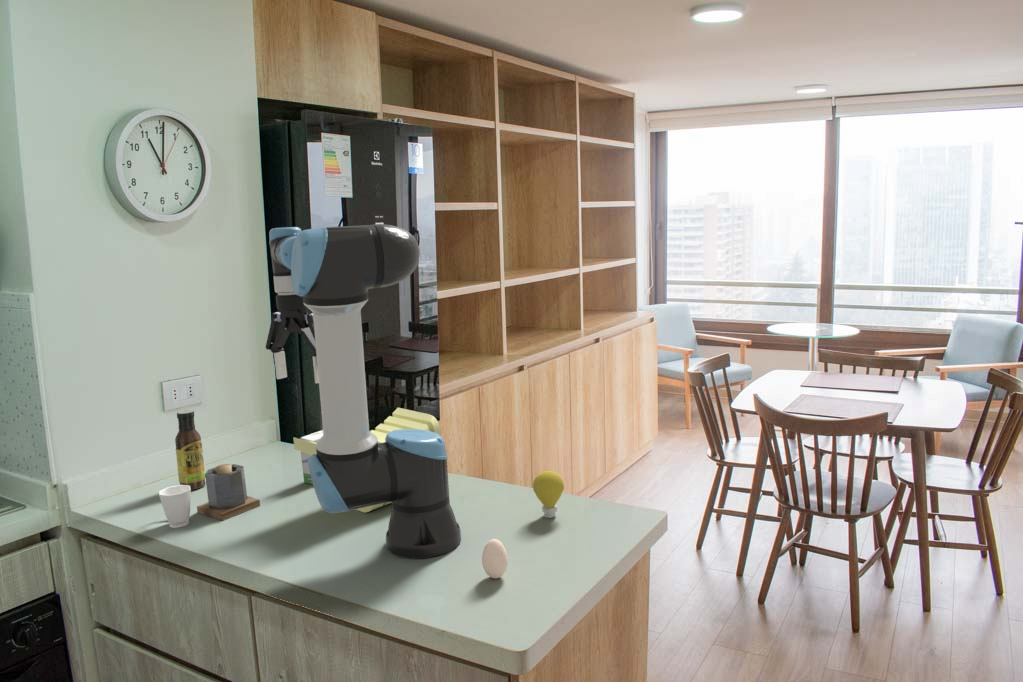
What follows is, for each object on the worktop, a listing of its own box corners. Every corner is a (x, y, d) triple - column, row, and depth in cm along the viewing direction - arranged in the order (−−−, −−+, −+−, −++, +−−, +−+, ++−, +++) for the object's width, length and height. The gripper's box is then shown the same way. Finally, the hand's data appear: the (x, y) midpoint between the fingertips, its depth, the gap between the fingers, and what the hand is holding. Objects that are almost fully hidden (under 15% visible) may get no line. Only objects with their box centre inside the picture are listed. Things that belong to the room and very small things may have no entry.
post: (260, 505, 189) (255, 463, 187) (223, 520, 181) (217, 476, 179) (234, 498, 194) (229, 457, 193) (197, 512, 186) (191, 469, 185)
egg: (478, 580, 145) (475, 542, 144) (492, 569, 149) (489, 532, 148) (499, 585, 143) (497, 546, 141) (513, 574, 147) (511, 536, 145)
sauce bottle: (190, 493, 200) (180, 416, 197) (175, 489, 203) (164, 413, 200) (212, 484, 205) (202, 409, 202) (196, 481, 209) (186, 407, 205)
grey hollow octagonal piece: (253, 500, 188) (249, 467, 187) (223, 511, 182) (219, 478, 180) (232, 494, 193) (228, 462, 191) (203, 505, 186) (199, 472, 185)
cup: (170, 532, 175) (166, 498, 174) (151, 522, 182) (146, 488, 181) (201, 522, 180) (197, 488, 179) (181, 512, 187) (177, 479, 186)
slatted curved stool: (341, 528, 173) (333, 449, 169) (301, 511, 183) (293, 437, 180) (445, 487, 194) (439, 416, 191) (403, 474, 205) (397, 407, 202)
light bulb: (571, 514, 173) (569, 470, 171) (551, 524, 168) (549, 478, 167) (548, 507, 178) (546, 464, 176) (528, 517, 173) (525, 472, 171)
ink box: (316, 485, 200) (312, 440, 198) (303, 482, 203) (298, 438, 201) (341, 475, 207) (337, 431, 205) (327, 472, 210) (323, 429, 208)
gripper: (340, 291, 186) (349, 380, 189) (269, 290, 200) (278, 373, 203) (316, 295, 180) (325, 387, 183) (244, 294, 194) (254, 379, 197)
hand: (300, 380), depth 193 cm, fingers open, 13 cm apart
